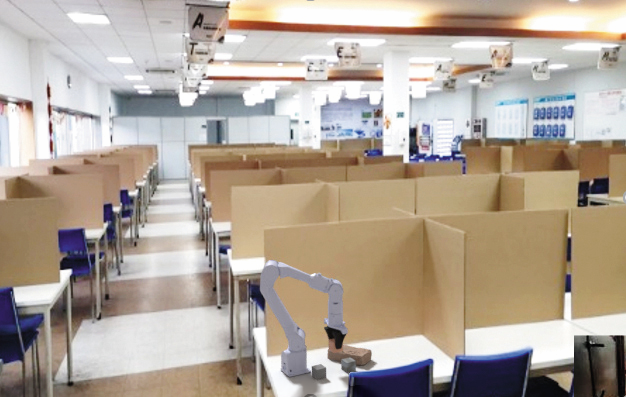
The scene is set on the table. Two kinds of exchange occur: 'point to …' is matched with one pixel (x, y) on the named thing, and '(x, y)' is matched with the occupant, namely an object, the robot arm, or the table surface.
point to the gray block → (318, 372)
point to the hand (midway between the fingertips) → (335, 346)
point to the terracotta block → (332, 346)
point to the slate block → (348, 365)
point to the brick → (352, 354)
